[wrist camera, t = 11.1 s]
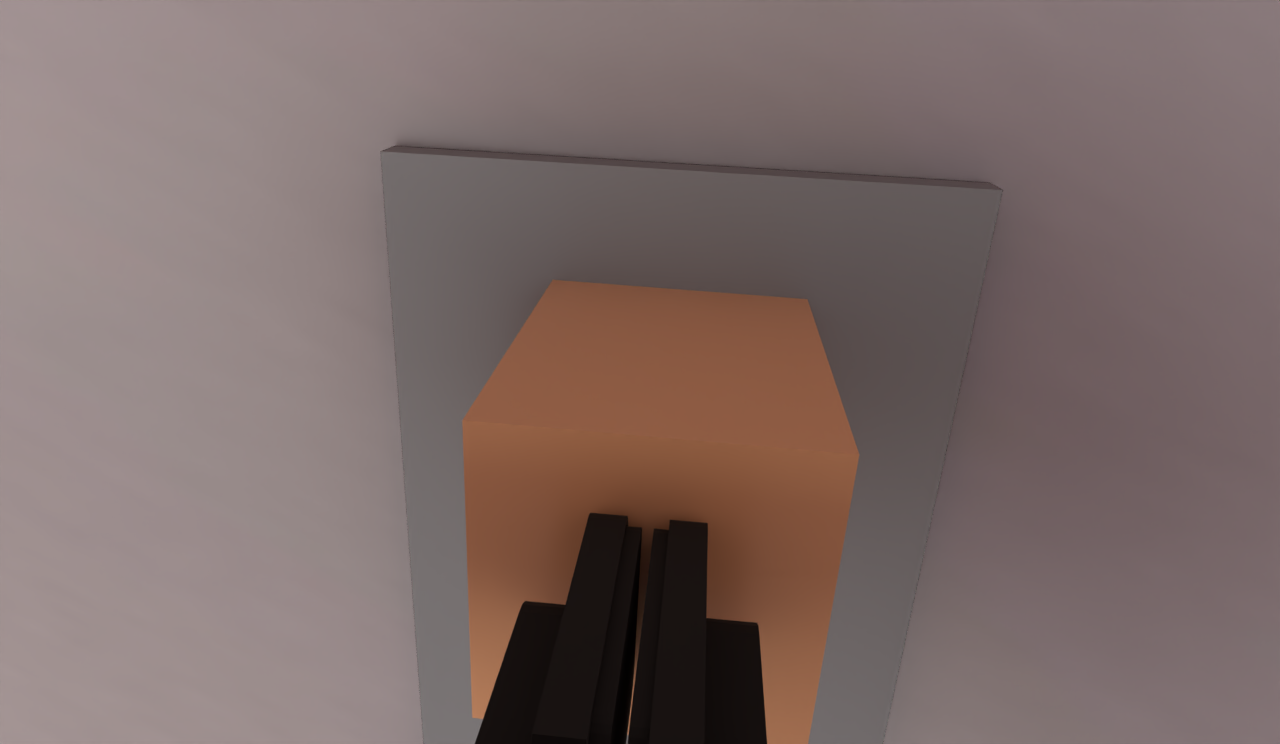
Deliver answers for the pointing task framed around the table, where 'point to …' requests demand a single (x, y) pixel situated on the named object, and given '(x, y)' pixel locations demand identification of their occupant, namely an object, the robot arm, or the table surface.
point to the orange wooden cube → (664, 467)
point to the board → (701, 261)
